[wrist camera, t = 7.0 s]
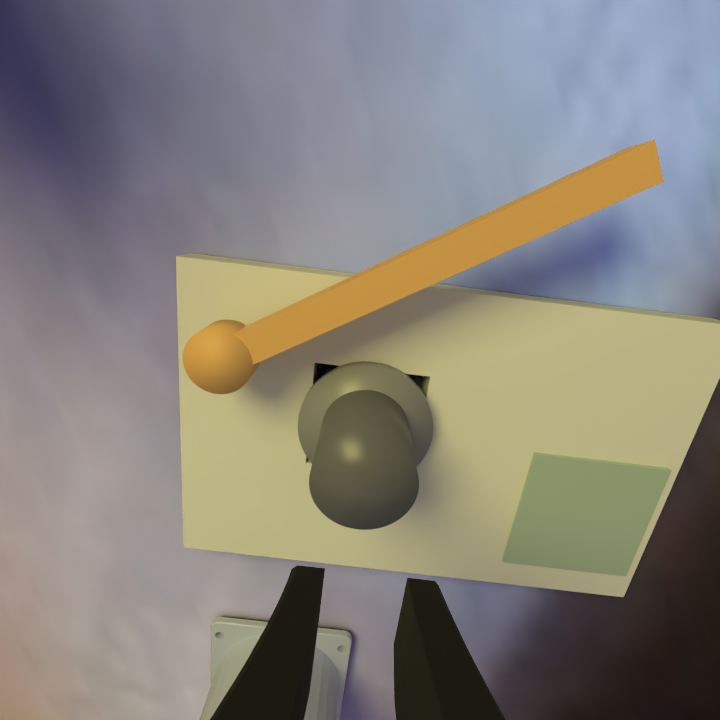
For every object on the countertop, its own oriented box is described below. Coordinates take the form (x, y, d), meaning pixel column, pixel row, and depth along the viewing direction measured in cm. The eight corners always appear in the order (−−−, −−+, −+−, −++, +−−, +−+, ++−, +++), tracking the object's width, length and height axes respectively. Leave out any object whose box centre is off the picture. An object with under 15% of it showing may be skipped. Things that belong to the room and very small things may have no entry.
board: (607, 572, 22) (634, 612, 19) (196, 525, 21) (175, 561, 19) (711, 317, 17) (761, 332, 15) (192, 253, 17) (165, 258, 15)
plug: (415, 464, 20) (433, 561, 14) (301, 451, 20) (274, 543, 14) (435, 357, 18) (465, 418, 12) (310, 341, 18) (283, 396, 12)
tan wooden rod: (639, 203, 13) (668, 201, 12) (219, 388, 16) (205, 404, 15) (622, 128, 13) (651, 117, 11) (186, 335, 15) (169, 345, 14)
